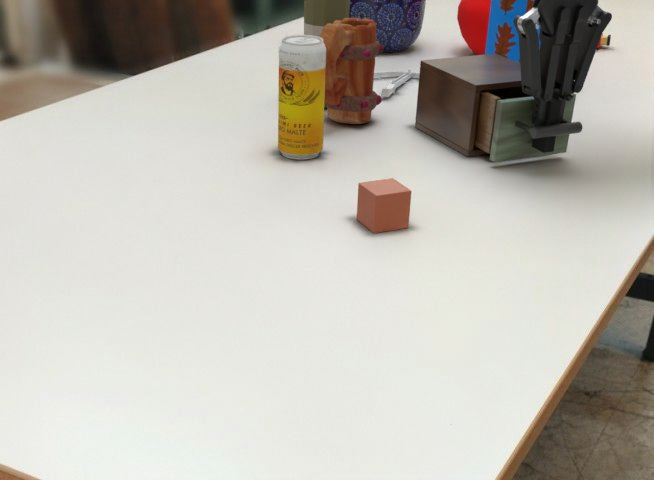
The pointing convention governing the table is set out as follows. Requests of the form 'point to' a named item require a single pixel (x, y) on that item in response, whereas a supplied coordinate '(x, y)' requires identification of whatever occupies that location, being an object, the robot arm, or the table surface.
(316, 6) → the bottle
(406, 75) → the crossbow
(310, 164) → the table surface
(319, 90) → the beer can
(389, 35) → the planter
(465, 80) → the cabinet
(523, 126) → the drawer
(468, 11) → the vase
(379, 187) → the block
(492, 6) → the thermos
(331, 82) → the mug
